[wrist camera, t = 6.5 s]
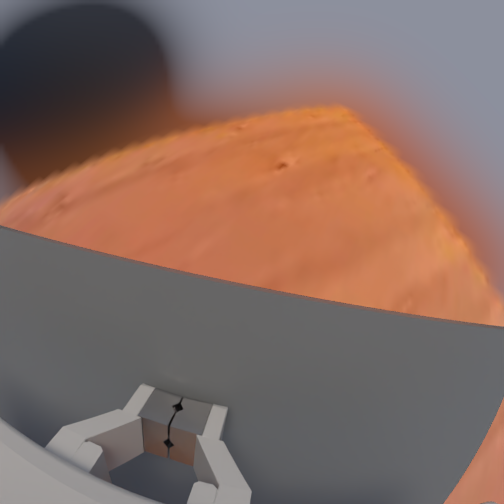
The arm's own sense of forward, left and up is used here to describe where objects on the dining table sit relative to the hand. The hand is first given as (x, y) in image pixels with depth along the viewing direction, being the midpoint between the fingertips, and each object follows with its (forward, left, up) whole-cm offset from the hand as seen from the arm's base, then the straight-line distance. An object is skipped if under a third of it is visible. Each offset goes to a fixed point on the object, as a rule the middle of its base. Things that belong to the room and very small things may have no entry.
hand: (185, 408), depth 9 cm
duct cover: (0, 0, -1) cm, 1 cm away
